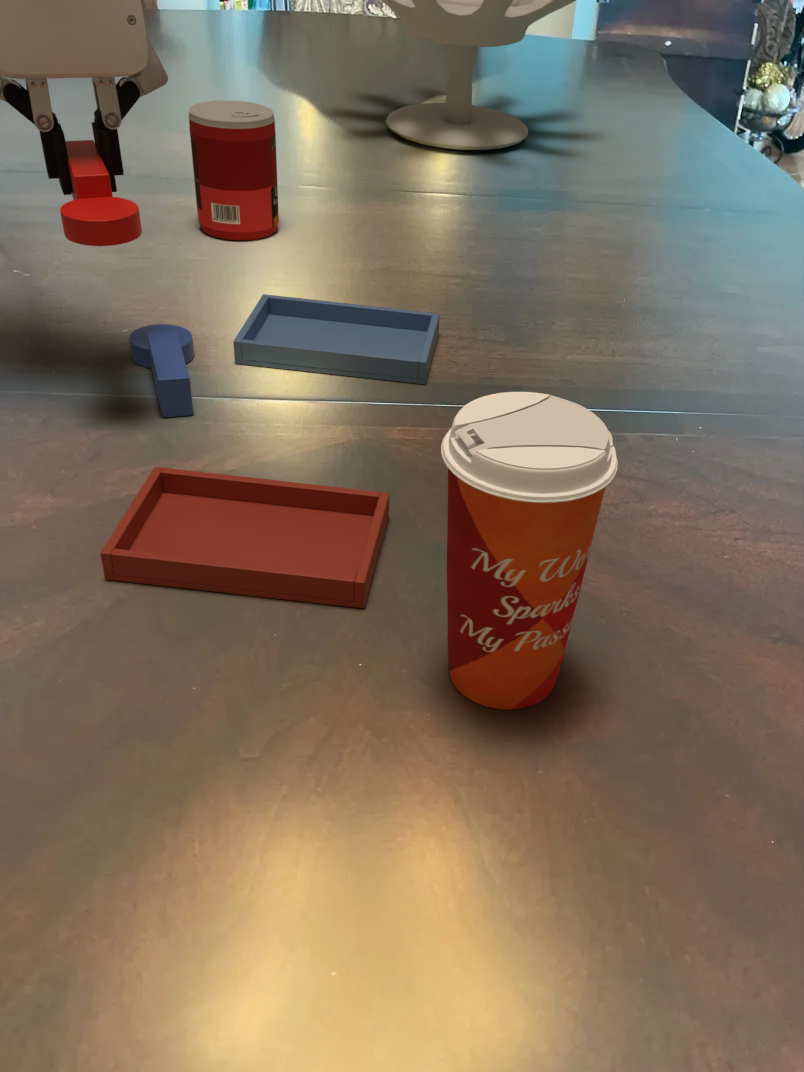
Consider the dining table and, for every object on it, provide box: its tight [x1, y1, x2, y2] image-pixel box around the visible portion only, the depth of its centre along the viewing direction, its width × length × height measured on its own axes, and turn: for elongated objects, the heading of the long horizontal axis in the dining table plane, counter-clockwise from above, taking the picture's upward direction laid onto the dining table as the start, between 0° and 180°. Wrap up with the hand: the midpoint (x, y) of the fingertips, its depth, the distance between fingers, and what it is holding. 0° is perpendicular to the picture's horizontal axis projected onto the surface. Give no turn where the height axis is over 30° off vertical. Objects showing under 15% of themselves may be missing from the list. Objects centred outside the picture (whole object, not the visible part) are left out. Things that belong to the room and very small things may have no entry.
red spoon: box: [59, 139, 143, 247], centre depth 70 cm, size 13×5×3 cm, turn 23°
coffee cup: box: [440, 391, 619, 710], centre depth 53 cm, size 8×8×15 cm
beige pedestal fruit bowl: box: [380, 0, 577, 151], centre depth 130 cm, size 34×35×27 cm
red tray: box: [99, 466, 391, 609], centre depth 64 cm, size 15×10×2 cm, turn 85°
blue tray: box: [232, 293, 441, 385], centre depth 86 cm, size 15×10×2 cm, turn 85°
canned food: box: [188, 99, 280, 241], centre depth 103 cm, size 8×8×11 cm
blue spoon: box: [128, 323, 195, 418], centre depth 80 cm, size 13×5×3 cm, turn 19°
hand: (87, 185), depth 73 cm, fingers closed on red spoon, 2 cm apart
